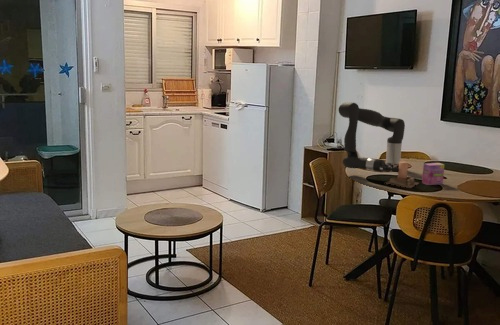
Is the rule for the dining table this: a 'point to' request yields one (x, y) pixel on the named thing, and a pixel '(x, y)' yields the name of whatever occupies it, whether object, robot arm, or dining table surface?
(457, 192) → the dining table surface
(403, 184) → the keeper cradle
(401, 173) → the pivot pin
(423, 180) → the box
